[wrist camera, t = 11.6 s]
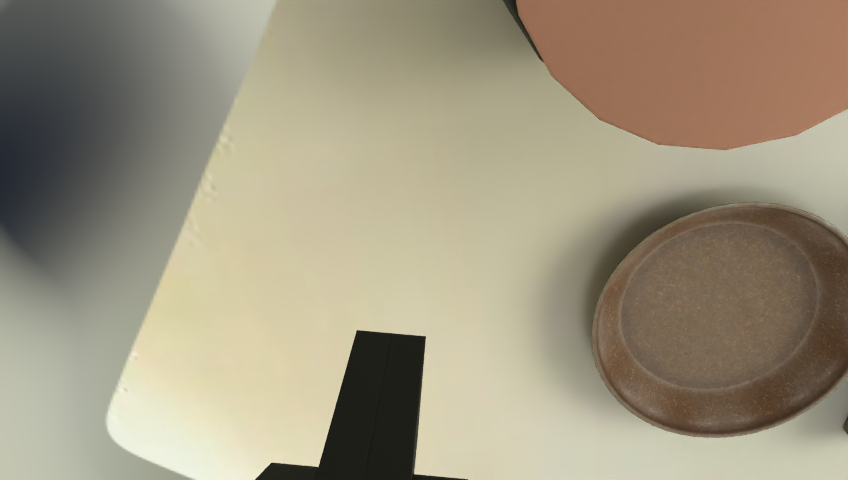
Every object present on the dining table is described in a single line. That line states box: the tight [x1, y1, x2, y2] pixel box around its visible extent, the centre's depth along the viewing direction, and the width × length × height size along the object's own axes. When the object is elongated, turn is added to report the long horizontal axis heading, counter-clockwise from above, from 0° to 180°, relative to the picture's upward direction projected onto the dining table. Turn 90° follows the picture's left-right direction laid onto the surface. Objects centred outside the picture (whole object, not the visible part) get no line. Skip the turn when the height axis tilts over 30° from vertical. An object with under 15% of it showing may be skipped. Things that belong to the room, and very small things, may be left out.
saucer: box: [592, 202, 848, 438], centre depth 37 cm, size 15×15×3 cm
